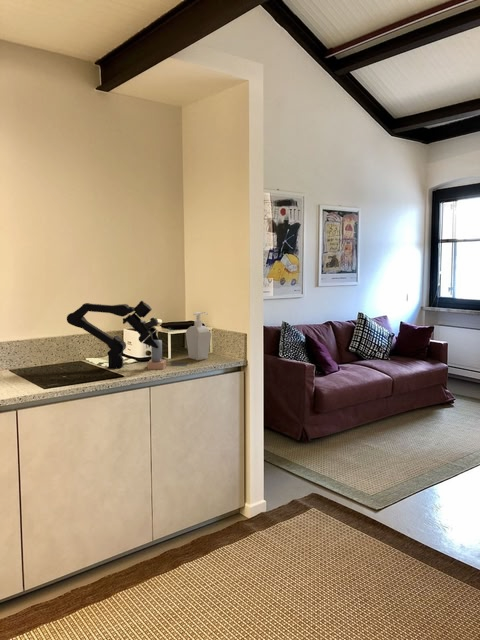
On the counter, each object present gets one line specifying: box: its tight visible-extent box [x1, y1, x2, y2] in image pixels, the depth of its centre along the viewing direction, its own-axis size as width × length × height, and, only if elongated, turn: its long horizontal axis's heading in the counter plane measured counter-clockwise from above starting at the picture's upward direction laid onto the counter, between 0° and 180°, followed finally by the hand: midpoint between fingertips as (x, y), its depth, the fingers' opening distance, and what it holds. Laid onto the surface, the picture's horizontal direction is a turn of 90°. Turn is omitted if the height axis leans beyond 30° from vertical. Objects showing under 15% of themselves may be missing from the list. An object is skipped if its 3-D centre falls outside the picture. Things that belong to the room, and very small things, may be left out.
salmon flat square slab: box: [147, 359, 167, 370], centre depth 264 cm, size 8×8×4 cm
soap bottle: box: [185, 311, 212, 361], centre depth 288 cm, size 12×10×26 cm
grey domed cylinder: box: [150, 339, 163, 362], centre depth 263 cm, size 5×5×10 cm
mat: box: [168, 362, 189, 367], centre depth 272 cm, size 9×9×1 cm
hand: (159, 346), depth 263 cm, fingers open, 9 cm apart
